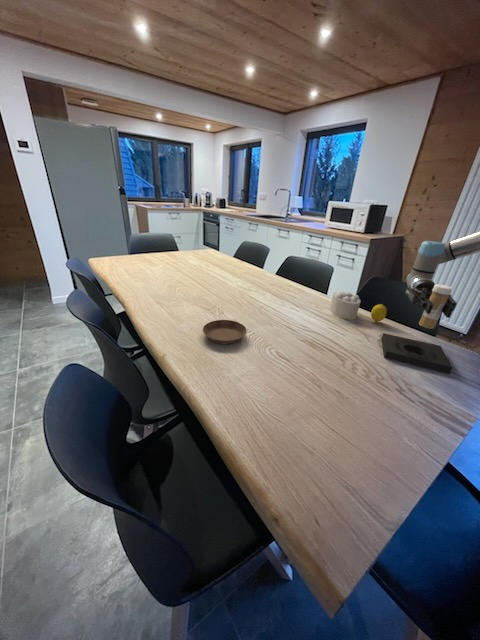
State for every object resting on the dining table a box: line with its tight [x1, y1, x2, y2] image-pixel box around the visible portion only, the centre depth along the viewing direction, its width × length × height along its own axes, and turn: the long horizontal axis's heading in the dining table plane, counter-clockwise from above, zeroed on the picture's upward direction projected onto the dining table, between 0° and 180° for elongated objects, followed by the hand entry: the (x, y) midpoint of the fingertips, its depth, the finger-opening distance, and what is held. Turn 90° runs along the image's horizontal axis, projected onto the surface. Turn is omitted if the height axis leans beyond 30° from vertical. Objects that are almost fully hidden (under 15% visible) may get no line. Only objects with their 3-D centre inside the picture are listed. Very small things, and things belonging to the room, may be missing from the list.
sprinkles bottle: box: [418, 283, 453, 330], centre depth 81 cm, size 5×5×13 cm
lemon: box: [370, 303, 388, 323], centre depth 109 cm, size 6×6×8 cm
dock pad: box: [380, 332, 453, 375], centre depth 88 cm, size 18×14×2 cm
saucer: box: [202, 319, 247, 345], centre depth 90 cm, size 15×15×3 cm
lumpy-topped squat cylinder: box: [329, 291, 362, 321], centre depth 115 cm, size 10×13×9 cm
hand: (439, 311), depth 77 cm, fingers closed on sprinkles bottle, 4 cm apart
